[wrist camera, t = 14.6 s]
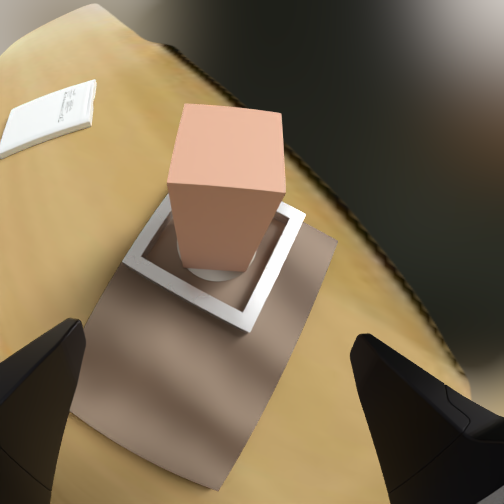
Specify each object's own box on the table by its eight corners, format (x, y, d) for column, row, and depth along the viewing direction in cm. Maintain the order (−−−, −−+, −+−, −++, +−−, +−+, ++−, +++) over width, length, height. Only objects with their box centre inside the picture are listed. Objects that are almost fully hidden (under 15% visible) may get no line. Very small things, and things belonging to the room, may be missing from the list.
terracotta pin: (245, 271, 21) (285, 192, 11) (183, 267, 20) (166, 182, 10) (246, 216, 23) (281, 113, 12) (189, 211, 22) (184, 103, 12)
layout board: (217, 485, 16) (219, 498, 14) (57, 395, 16) (44, 397, 14) (333, 245, 24) (344, 235, 22) (189, 171, 25) (189, 156, 23)
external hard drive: (16, 115, 25) (97, 86, 28) (2, 162, 22) (92, 129, 25) (11, 107, 23) (95, 77, 26) (-4, 154, 21) (89, 119, 24)
